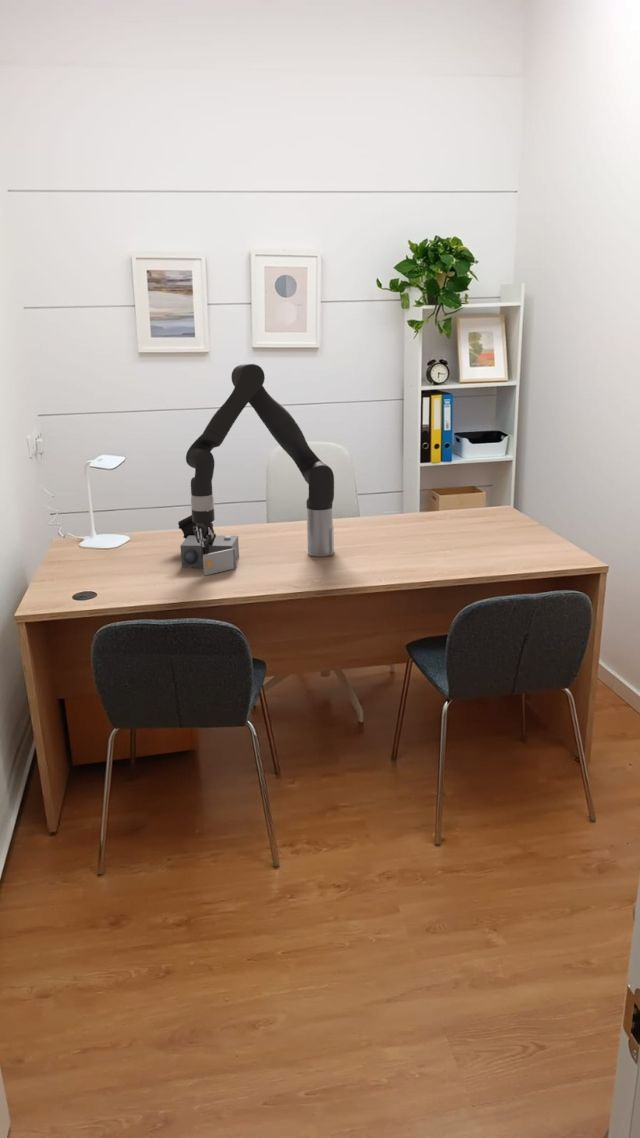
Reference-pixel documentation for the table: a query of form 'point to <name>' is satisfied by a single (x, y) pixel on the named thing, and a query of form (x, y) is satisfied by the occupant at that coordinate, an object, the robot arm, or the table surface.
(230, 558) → the side door
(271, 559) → the table surface
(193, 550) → the camera box
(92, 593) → the table surface
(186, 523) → the black piece
